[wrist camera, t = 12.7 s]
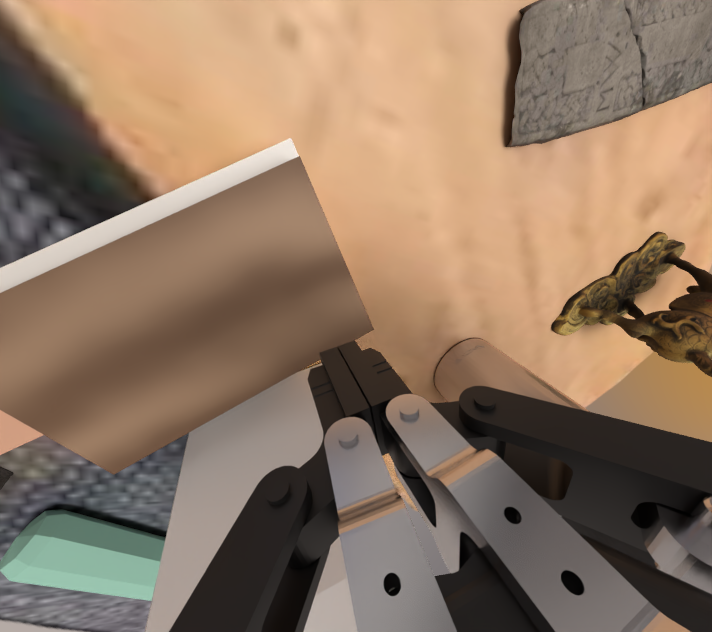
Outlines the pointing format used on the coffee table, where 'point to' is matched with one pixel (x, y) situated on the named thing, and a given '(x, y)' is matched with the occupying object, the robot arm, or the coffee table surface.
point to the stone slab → (605, 62)
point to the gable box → (243, 498)
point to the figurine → (658, 329)
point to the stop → (4, 476)
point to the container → (84, 556)
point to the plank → (178, 320)
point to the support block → (14, 433)
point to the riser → (144, 215)
